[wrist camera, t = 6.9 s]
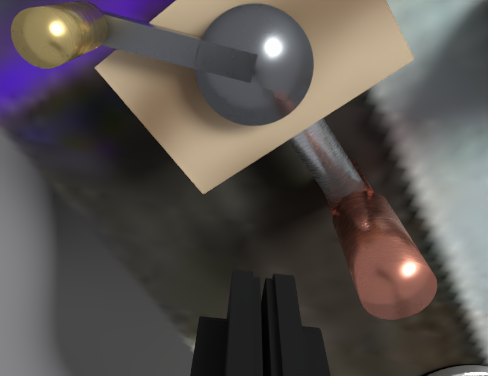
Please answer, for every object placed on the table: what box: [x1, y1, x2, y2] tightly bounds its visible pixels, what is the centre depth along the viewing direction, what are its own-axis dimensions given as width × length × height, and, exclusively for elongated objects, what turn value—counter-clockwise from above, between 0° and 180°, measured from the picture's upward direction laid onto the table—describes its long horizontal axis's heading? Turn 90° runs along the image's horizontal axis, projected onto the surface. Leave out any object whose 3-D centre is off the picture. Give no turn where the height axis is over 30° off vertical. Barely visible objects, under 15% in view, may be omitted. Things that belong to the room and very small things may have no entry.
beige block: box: [95, 0, 414, 194], centre depth 21 cm, size 8×12×8 cm, turn 125°
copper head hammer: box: [288, 118, 437, 319], centre depth 21 cm, size 19×4×12 cm, turn 35°
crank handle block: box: [11, 1, 314, 126], centre depth 15 cm, size 5×10×5 cm, turn 76°
